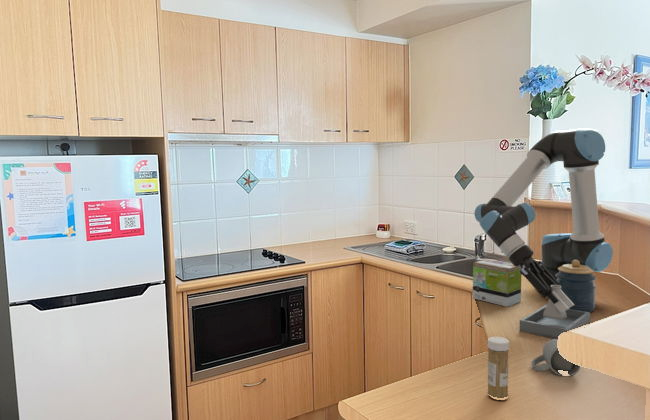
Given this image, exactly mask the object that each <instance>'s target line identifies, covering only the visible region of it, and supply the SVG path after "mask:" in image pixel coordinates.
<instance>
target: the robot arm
mask: <svg viewBox="0 0 650 420" xmlns="http://www.w3.org/2000/svg"><path fill="white" fill-rule="evenodd" d="M605 152H606V141H605V139H604V137H603V135H602V134H601V133H599V131H598V130H597V129H593V128H577V129H569V130H567V129H566V130H555V131H554V132H550V133H549V134H547V135H545V136H544V137H543V138H541V139H540V140H539V141H538V142H536V143H535V144H534V145H533V146H532V147H531V148H530V150H529V151H528V152H527V154H526V158H524V160H523V161H522V162H521V164H520V165H519V166H518V167H517V168H516V169H515V171H514V172H513V173H512V174H511V175H510V176H509V178H508V179H507V180H506V181H505V182H504V183H503V185H502V186H501V187H500V188H499V189H498V190H497V191H496V193H494V195H493V196H491V198H490V199H489V201H488V202H487V203H481V204H478V205H477V206H476V207H475V210H474V213H473V214H474V218H475V220H476V221H477V222H478V223H479V226H480V227H481V229H482V230H483V231H484V233H485V234H486V235H487V236H488V237H489V238H490V239H491V241H492V242H493V244H495V245H496V246H497V248H498V249H500V252H501V253H502V254H504V255H505V257H508V261H510V263H512V264H513V265H514V266H519V265H520V266H521V268H522V270H521V271H520V273H521V276H523V277H524V278H525V279H526V280H527V281H528V282H529V284H531V285H532V287H534V289H535V290H536V291H537V292H538V293H539V295H540V296H541V297H542V298H543V299H544V298H546V297H547V299H548V301H549V300H550V301H551V302H552V303H553V304H554V305H555V307H556V308H557V309H558V310H559V311H560V312H561V313H563V312H564V311H566V310H568V309H569V308H570V307H572V306H573V305H574V304H573V303H572V301H571V300H570V299H569V298H568V297H567V296H566V295H565V294H564V292H563V291H562V290H561V289H560V296H561V298H560V297H559V296H558V295H557V294H556V293H555V292H554V291H553V292H552V290H551V287H550V286H551V285H559V286H561V284H560V283H559V282H558V281H557V277H556V276H555V274H556V273H558V272H559V270H558V268H559V267H561V266H562V265H565V264H572V261H573V260H578V261H579V262H580V265H585V266H588V267H589V268H590V269H592V270H593V271H594V272H593V273H600V272H603V271H605V270H606V269H607V268H608V267H609V266H610V264H611V262H612V260H613V257H614V256H613V255H614V249H613V246H612V245H611V244H610V243H609V242H606V240H605V235H604V234H603V233H602V232H601V231H600V223H599V222H600V221H599V212H598V210H599V209H598V197H597V184H596V168H597V166H599V165H600V163H599V162H600V160H601V159H602V158H603V157H604V155H605V154H604V153H605ZM557 162H563V168H564V169H565V170H567V172H568V178H569V179H568V180H569V191H570V192H569V193H570V201H571V213H572V227H573V232H572V233H563V232H562V233H549V234H545V235H543V236H542V239H541V240H542V241H541V260H539V261H537V260H536V259H534V258H533V257H532V256H534V251H533V250H532V249H531V248H530V246H529V245H527V244H526V242H525V241H524V240H523V239H522V238H521V236H520V235H518V234H517V231H519V230H522V228H525V227H527V226H529V225H530V224H532V223H533V222H534V221H535V219H536V217H537V216H536V215H537V214H536V210H535V209H534V207H533V206H532V205H531V204H530V203H527V202H522V203H519V204H517V205H516V206H513V205H514V204H515V203H516V202H517V201H518V200H519V199H520V198H521V196H522V195H523V194H524V193H525V191H526V190H527V189H528V188H529V187H530V185H532V183H533V182H534V181H535V179H536V178H537V177H539V175H540V174H541V172H543V170H545V169H548V168H549V167H551V165H553V164H554V163H557Z"/></svg>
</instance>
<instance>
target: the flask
mask: <svg viewBox="0 0 650 420" xmlns="http://www.w3.org/2000/svg"><path fill="white" fill-rule="evenodd" d="M550 287H551V290H552V292H553V291H554V292H555V293H556V294H557V295H558V296H559V297H560V298H561V296H560V289H561V286H559V285H551V286H550ZM546 305H547V306H546V308H545V310H544V313H543V316H544V317H547V318H551V319H559V320H562V319H566V318H567V315H566V312H565V311H564V312H563V313H561V312H560V311H559V310H558V309H557V308H556V307H555V305H554V304H553V303H552V302H551V301H550V300H549V299H548V301H547V303H546Z"/></svg>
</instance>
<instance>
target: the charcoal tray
mask: <svg viewBox="0 0 650 420" xmlns="http://www.w3.org/2000/svg"><path fill="white" fill-rule="evenodd" d="M546 306H547V304H544V305H543V306H541V307H539V308H538V309H536V310H534V311H533V312H531V313H529V314H528V315H526V316H524V317H522V318H520V319H519V332H522V331H523V333H526V332H527V333H526V334H530V335H536V336H540V337H544V338H545V337H546V338H549V339H558V336H559V335H560V334H561V333H563V332H567V331H569V330H572V329H575V328H578V327H581V326H583V325H586V324H588V325H590V323H591V312H590V313H589V312H584V311H578V310H573V309H568V310H566V311H565V312H566V315H567V318H566V319H562V320H559V319H551V318H547V317H544V316H543V313H544V310H545V308H546Z"/></svg>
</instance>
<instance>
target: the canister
mask: <svg viewBox="0 0 650 420" xmlns="http://www.w3.org/2000/svg"><path fill="white" fill-rule="evenodd" d="M558 270H559V272H558V273H556V274H555V276H556V277H557V281H558V282H559V283H560V284H561V290H562V291H563V292H564V294H565V295H566V296H567V297H568V298H569V299H570V300H571V301H572V303H573V304H574V305H573V306H572V307H570V308H569V309H573V310H578V311H584V312H589V313H590V314H591V313H592V312H594V311H595V308H596V287H597V286H596V285H595V280H596V279H597V276H596V275H594V274H593V273H595V272H594V271H593V270H592V269H590V268H589V267H588V266H585V265H580V262H579V261H578V260H573V261H572V264H565V265H562V266H561V267H559V268H558Z"/></svg>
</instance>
